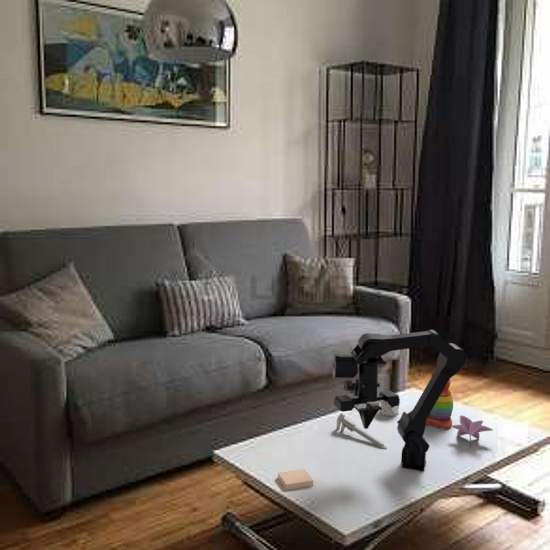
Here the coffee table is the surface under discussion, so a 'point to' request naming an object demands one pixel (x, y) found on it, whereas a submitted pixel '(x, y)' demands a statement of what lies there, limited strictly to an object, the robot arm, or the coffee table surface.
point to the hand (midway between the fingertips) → (365, 428)
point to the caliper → (356, 430)
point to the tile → (295, 479)
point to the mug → (389, 409)
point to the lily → (470, 428)
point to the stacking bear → (442, 410)
